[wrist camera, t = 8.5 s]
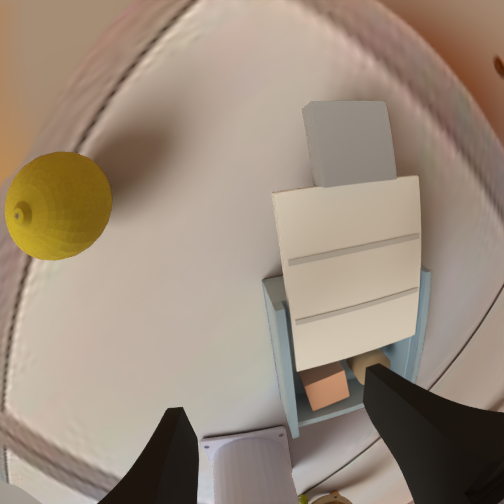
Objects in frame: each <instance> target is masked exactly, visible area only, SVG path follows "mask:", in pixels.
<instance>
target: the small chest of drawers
mask: <svg viewBox="0 0 504 504" xmlns="http://www.w3.org/2000/svg"><path fill="white" fill-rule="evenodd" d="M302 113H303V119H304V124H305V130H306V136H307V142H308V148H309V155H310V161H311V168H312V175H313V182H314V186H312V187H305V188H298V189H291V190H284V191H278V192H272V193H271V194H272V200H273V207H274V214H275V220H276V227H277V234H278V241H279V248H280V255H281V263H282V270H283V277H284V285H285V293H286V301H287V308H288V317H289V325H290V333H291V342H292V350H293V359H294V366H295V368H296V371H297V372H298V371H302V370H306V369H310V368H313V367H317V366H321V365H325V364H328V363H332V362H335V361H339V360H342V359H346V358H349V357H352V356H355V355H359V354H362V353H365V352H368V351H371V350H374V349H377V348H380V347H383V346H386V345H389V344H391V343H394V342H397V341H400V340H402V339H405V338H408V337H410V336H413V335H415V330H416V322H417V312H418V302H419V289H420V271H421V207H420V190H419V177H418V176H416V175H408V176H397V173H396V164H395V156H394V148H393V141H392V134H391V128H390V122H389V116H388V111H387V106H386V101H313V102H310V103H309V104H308V105H306V106H305V107H303V108H302Z"/></svg>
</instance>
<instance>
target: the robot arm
mask: <svg viewBox="0 0 504 504" xmlns="http://www.w3.org/2000/svg"><path fill="white" fill-rule="evenodd" d="M363 404H364V406H365V408H366V411H367V413H368V415H369V417H370V419H371V421H372V423H373V425H374V426H375V428H376V429H377V431H378V433H379V434H380V436H381V437H382V439H383V440H384V442H385V444H386V445H387V447H388V448H389V450H390V451H391V453H392V454H393V456H394V458H395V459H396V461H397V463H398V465H399V467H400V469H401V471H402V473H403V476H404V478H405V480H406V482H407V485H408V487H409V490H410V492H411V495H412V497H413V500H414V503H415V504H504V412H494V411H488V410H482V409H478V408H473V407H469V406H466V405H462V404H459V403H456V402H453V401H450V400H448V399H445V398H443V397H440V396H438V395H436V394H434V393H432V392H429V391H427V390H425V389H423V388H421V387H420V386H418V385H416V384H414V383H412V382H410V381H409V380H407V379H405V378H404V377H402V376H400V375H398V374H397V373H395V372H393V371H392V370H390V369H389V368H387V367H385V366H384V365H382V364H380V363H377V364H374V365H372V366H369V367H366V371H365V382H364V393H363ZM200 445H201V447H202V449H203V451H204V453H205V455H206V456H207V458H208V460H209V462H210V464H211V466H212V467H213V479H214V499H215V504H300V503H299V500H298V496H297V492H296V489H295V485H294V481H293V478H292V474H291V473H292V466H291V459H290V453H289V446H288V439H287V433H286V428H285V427H283V426H280V427H275V428H270V429H265V430H260V431H254V432H249V433H243V434H236V435H229V436H222V437H214V438H205V439H201V440H200ZM198 470H199V452H198V439H197V436H196V434H195V432H194V430H193V428H192V426H191V424H190V422H189V420H188V417H187V415H186V413H185V411H184V409H183V407H176V408H168V409H167V410H166V411H165V413H164V415H163V417H162V419H161V421H160V423H159V424H158V426H157V428H156V430H155V432H154V433H153V435H152V437H151V438H150V440H149V442H148V443H147V445H146V447H145V448H144V450H143V451H142V453H141V454H140V456H139V457H138V459H137V460H136V462H135V463H134V465H133V466H132V467H131V469H130V470H129V471H128V472H127V474H126V475H125V476H124V477H123V478H122V480H121V481H120V482H119V483H118V484H117V485H116V486H115V487H114V488H113V489H112V490H111V491H110V492H109V493H108V494H107V495H106V496H105V497H104V498H103V499H102V500H101V501H100V502H98V503H97V504H197V490H198Z"/></svg>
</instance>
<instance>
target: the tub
mask: <svg viewBox="0 0 504 504" xmlns="http://www.w3.org/2000/svg"><path fill="white" fill-rule="evenodd" d="M431 274H432V271H431V270H429V269H427V268H425V267H423V266H421V271H420V289H419V302H418V312H417V322H416V330H415V335H413V336H410V337H408V338H405V339H402V340H400V341H397V342H394V343H391V344H389V345H386V346H383V347H380V349H381V350H382V351H383V353H384V354H385V355H386V356H387V357H388V358H389V359H390V362H391V366H390V370H392V371H393V372H395V373H397V374H398V375H400V376H402V377H404V378H405V379H407V380H409V381H410V382H412V383H414V384H416V380H417V375H418V370H419V366H420V361H421V355H422V350H423V344H424V338H425V331H426V324H427V317H428V308H429V299H430V288H431ZM262 283H263V290H264V296H265V302H266V308H267V315H268V321H269V327H270V333H271V340H272V346H273V352H274V359H275V365H276V372H277V378H278V384H279V391H280V397H281V401H282V405H283V408H284V411H285V415H286V418H287V421H288V425H289V428H290V431H291V435H292V438H297V437H299V428H298V427H301V426H305V425H309V424H313V423H316V422H320V421H323V420H327V419H330V418H334V417H337V416H340V415H343V414H346V413H349V412H352V411H355V410H358V409H361V408H364V407H365V406H364V404H363V393H364V385H362V384H361V383H360V382H359V381H358V379H357V378H356V376H355V375H354V373H353V372H352V370H351V369H350V367H349V366H348V364H347V361H346V359H342V360H339V362H340V364H341V366H342V367H343V369H344V371H345V376H346V380H347V385H348V390H349V395H350V396H349V397H347V398H345V399H342V400H340V401H338V402H335V403H333V404H330V405H328V406H326V407H323V408H321V409H318V410H315V411H313V410H312V408H311V405H310V403H309V400H308V398H307V395H306V393H305V390H304V388H303V385H302V382H301V379H300V376H299V374H298V372H297V371H296V368H295V366H294V359H293V350H292V342H291V333H290V325H289V317H288V308H287V301H286V293H285V285H284V277H283V276H279V277H274V278H269V279H264V280H262Z"/></svg>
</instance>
